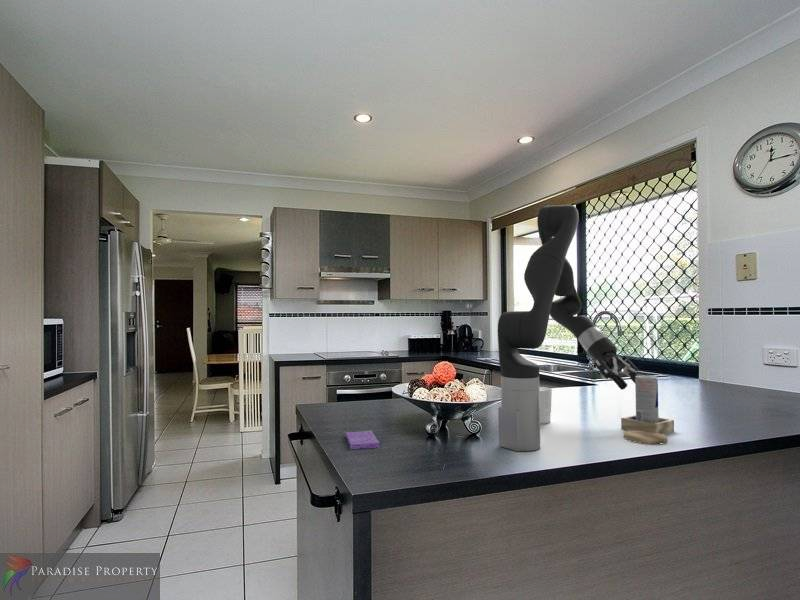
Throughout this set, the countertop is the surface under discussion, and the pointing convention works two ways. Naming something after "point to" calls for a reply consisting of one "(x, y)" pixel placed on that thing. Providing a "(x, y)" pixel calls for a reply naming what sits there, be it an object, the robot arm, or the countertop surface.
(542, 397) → the white cup
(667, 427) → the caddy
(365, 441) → the sponges
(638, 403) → the beverage can
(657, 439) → the disc
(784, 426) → the countertop surface
